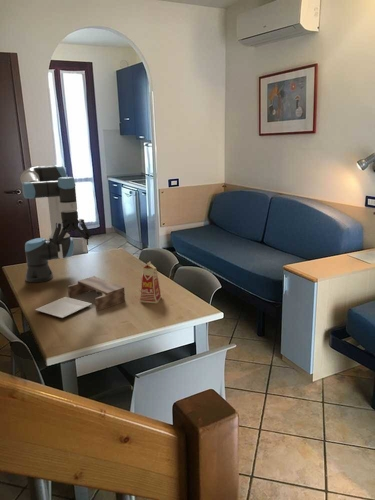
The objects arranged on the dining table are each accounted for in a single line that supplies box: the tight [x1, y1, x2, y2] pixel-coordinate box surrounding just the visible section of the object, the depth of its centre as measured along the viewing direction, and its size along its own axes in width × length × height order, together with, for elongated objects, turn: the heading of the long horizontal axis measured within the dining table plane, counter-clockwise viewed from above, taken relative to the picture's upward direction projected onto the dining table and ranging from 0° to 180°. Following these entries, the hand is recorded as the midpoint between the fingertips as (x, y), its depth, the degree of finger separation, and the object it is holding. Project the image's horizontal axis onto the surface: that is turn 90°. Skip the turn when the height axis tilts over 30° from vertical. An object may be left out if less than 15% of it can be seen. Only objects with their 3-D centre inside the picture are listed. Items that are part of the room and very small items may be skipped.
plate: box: [34, 296, 93, 319], centre depth 195 cm, size 19×19×2 cm
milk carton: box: [138, 261, 162, 304], centre depth 203 cm, size 9×9×20 cm
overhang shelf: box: [67, 275, 126, 312], centre depth 207 cm, size 16×26×7 cm, turn 46°
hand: (73, 255), depth 196 cm, fingers open, 13 cm apart
